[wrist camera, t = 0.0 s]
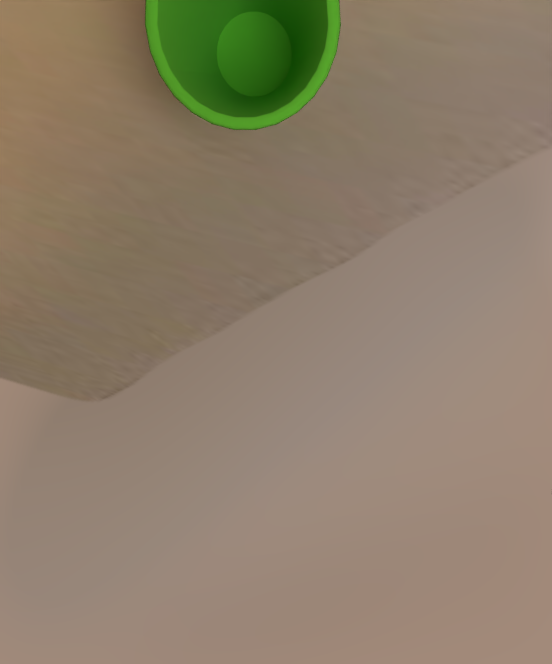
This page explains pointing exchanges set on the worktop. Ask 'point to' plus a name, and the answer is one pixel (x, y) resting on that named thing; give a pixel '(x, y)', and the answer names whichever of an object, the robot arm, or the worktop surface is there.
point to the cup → (243, 55)
